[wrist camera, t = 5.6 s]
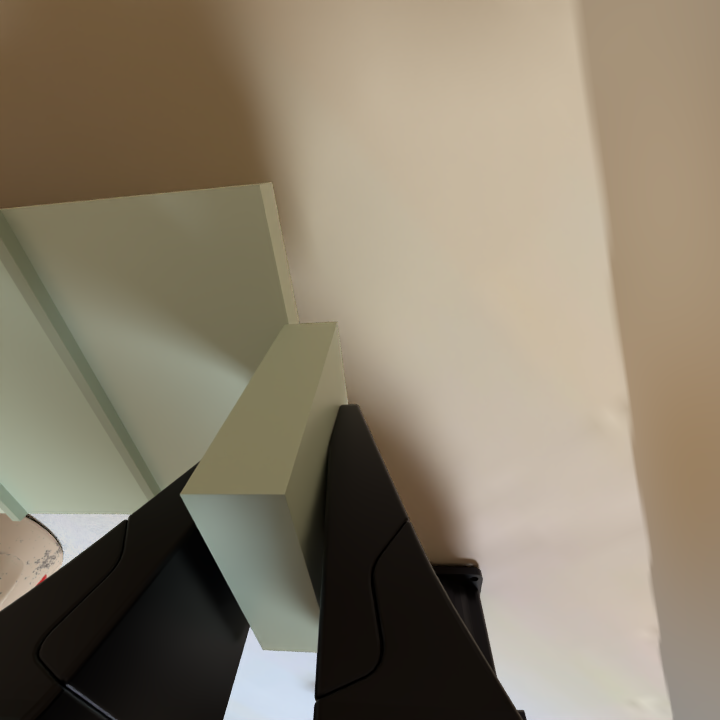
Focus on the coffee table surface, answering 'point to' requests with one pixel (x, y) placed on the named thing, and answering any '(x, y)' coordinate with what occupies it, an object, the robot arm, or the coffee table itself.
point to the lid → (173, 383)
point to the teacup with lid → (25, 557)
